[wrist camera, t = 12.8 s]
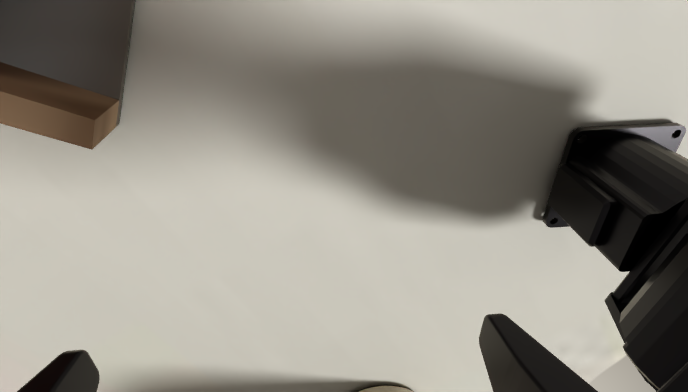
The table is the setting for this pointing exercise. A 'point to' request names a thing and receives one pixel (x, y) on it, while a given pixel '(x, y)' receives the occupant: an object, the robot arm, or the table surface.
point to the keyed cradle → (64, 66)
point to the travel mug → (386, 389)
